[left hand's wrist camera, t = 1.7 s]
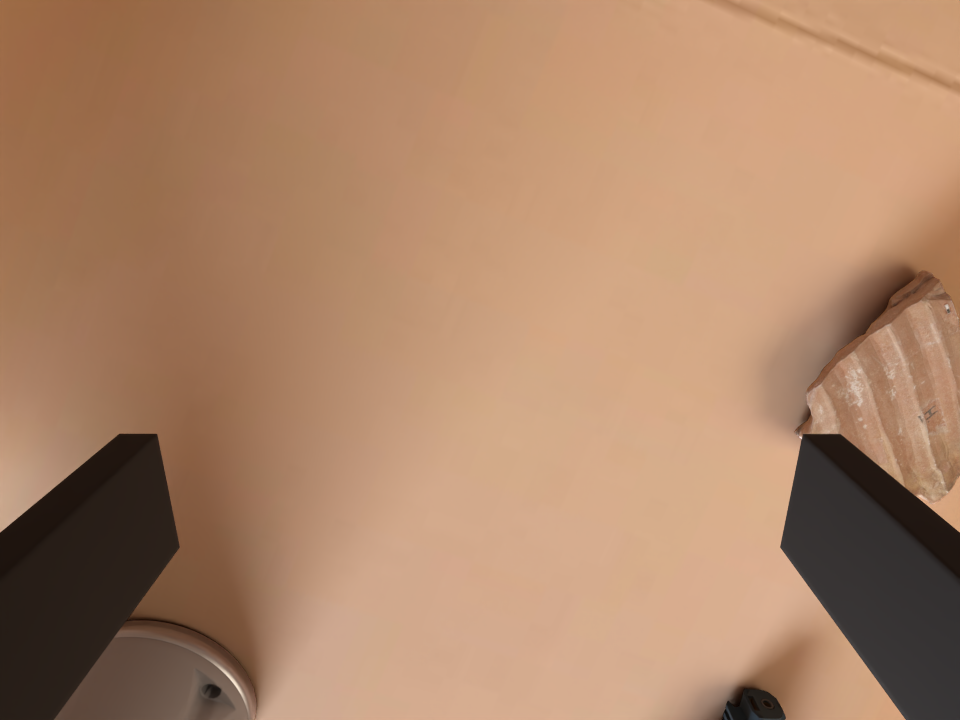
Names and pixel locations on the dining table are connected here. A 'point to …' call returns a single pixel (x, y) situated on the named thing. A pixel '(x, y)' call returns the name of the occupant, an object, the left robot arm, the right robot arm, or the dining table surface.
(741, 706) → the handgun
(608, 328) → the dining table surface
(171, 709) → the right robot arm
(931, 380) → the stone
